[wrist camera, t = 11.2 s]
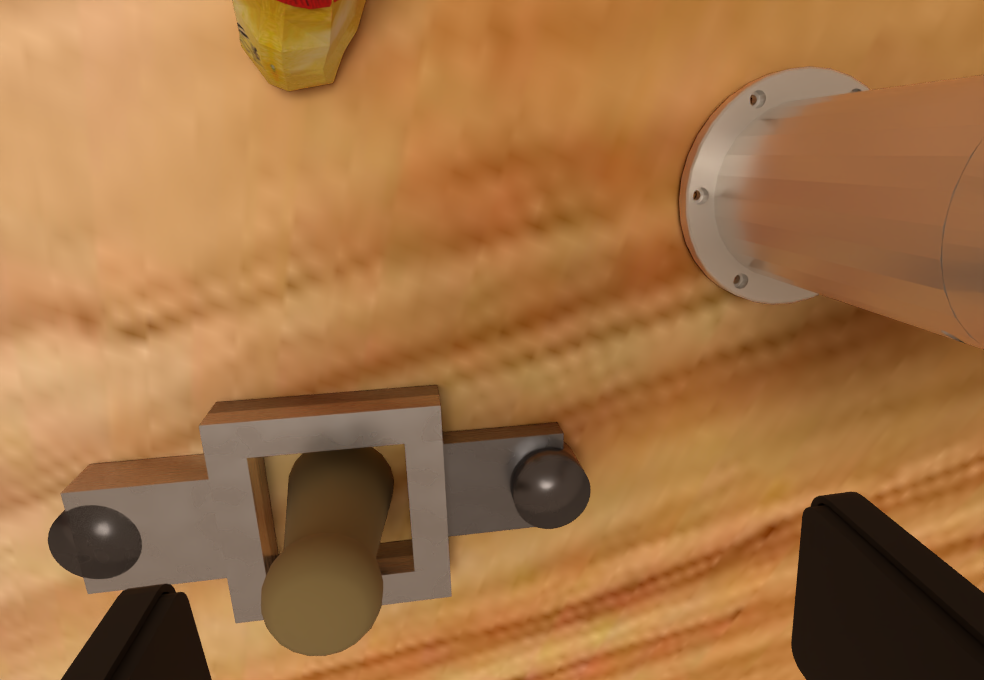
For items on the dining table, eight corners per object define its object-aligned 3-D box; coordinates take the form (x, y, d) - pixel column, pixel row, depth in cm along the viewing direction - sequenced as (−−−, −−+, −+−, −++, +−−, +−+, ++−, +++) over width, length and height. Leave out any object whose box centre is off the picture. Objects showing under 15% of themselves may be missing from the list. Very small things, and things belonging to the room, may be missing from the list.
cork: (359, 546, 37) (344, 700, 27) (268, 502, 35) (214, 648, 25) (413, 469, 36) (420, 596, 26) (322, 420, 34) (290, 535, 24)
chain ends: (577, 373, 36) (592, 392, 33) (574, 548, 39) (588, 579, 36) (52, 415, 32) (18, 440, 29) (102, 604, 36) (76, 643, 33)
